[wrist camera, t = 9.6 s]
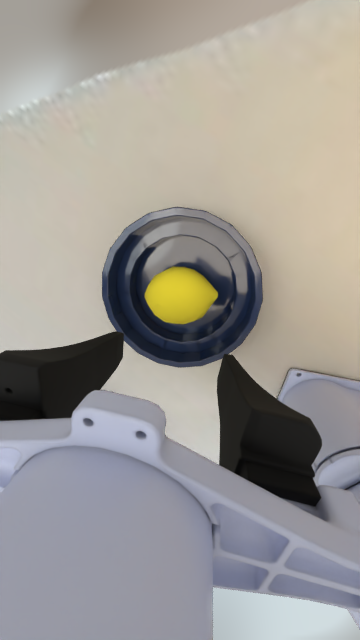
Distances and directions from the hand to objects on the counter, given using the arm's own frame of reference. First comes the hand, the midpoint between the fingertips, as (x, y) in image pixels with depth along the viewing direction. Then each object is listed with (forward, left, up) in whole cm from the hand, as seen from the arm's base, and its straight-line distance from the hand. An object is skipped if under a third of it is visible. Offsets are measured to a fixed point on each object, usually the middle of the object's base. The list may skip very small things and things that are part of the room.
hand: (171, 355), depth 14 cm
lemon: (+1, -3, -9) cm, 10 cm away
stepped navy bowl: (+1, -3, -10) cm, 10 cm away
